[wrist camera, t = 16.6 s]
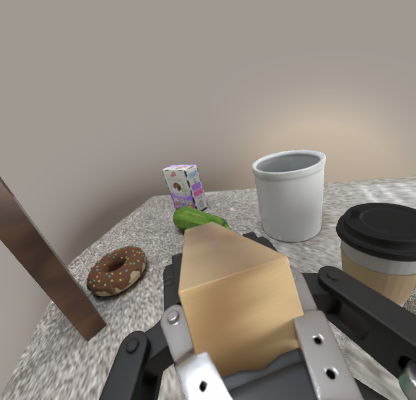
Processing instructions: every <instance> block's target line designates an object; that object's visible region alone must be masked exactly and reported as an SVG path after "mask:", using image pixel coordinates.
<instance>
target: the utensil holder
mask: <svg viewBox="0 0 416 400" xmlns="http://www.w3.org/2000/svg"><path fill="white" fill-rule="evenodd" d="M325 162H326V156H325V155H324V154H323V153H320V152H318V151H312V150H294V151H285V152H279V153H275V154H271V155H268V156H265V157H262V158H260V159H258V160H257V161H255V162H254V163H253V165H252V171H253V173H254V175H255V183H256V189H257V195H258V202H259V209H260V215H261V220H262V225H263V229H264V231H265V233H266V234H267V235H269V236H270V237H272V238H274V239H277V240H280V241H285V242H301V241H306V240H308V239H311V238H313V237H315V236H316V235H317V234H318V233H319V231H320V229H321V219H322V205H323V177H324V166H325Z"/></svg>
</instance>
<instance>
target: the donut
mask: <svg viewBox="0 0 416 400" xmlns="http://www.w3.org/2000/svg"><path fill="white" fill-rule="evenodd" d="M145 266H146V258H145V253H144V252H143V251H142V250H141V249H140V248H138V247H136V246H135V247H134V246H128V247H124V248H120V249H117V250H114V251H113V252H111V253H109V254H107V255H106V256H103V258H102V259H101V260H99V261H97V263H96V264H95V266H94V267H92V268H91V271H90V273H89V276H88V278H87V289H88V290H89V291H91V292H92V293H94V294H95V295H96V296H113V295H116V294H117V293H120V292H122V291H124V290H125V289H127V288H128V287H130V286H131V285H132V284H133V283H135V282H136V281H137V279H138V278H139V277H140V276H141V275H143V271H144V269H145Z"/></svg>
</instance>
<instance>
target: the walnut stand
mask: <svg viewBox="0 0 416 400" xmlns="http://www.w3.org/2000/svg"><path fill="white" fill-rule="evenodd" d="M0 240H1V241H2V242H3V243H4V244H5V246H6V247H7V248H8V249H9V250H10V251H11V252H12V254H13V255H14V256H15V257H16V258H17V260H18V261H19V262H20V263H21V264H22V265H23V267H24V268H25V269H26V270H27V271H28V272H29V274H30V275H31V276H32V277H33V278H34V279H35V281H36V282H37V283H38V284H39V285H40V286H41V288H42V289H43V290H44V291H45V292H46V294H47V295H48V296H49V297H50V298H51V299H52V301H53V302H54V303H55V304H56V305H57V306H58V308H59V309H60V310H61V311H62V312H63V313H64V315H65V316H66V317H67V318H68V319H69V320H70V322H71V323H72V324H73V325H74V326H75V327H76V329H77V330H78V331H79V332H80V333H81V334H82V336H83V337H84V338H85V339H86V340H87V341H89V340H90V339H91V338H92V337H93V336H94V335H95V334H96V333H98V332H99V331H100V330H101V329H102V328H103V327H104V326H105V325H106V323H105V322H104V320H103V319H102V317H101V316H100V314H99V313H98V311H97V310H96V308H95V307H94V305H93V304H92V302H91V301H90V300H89V298H88V297H87V295H86V294H85V292H84V291H83V289H82V288H81V286H80V285H79V284H78V282H77V281H76V280H75V278H74V277H73V276H72V274H71V273H70V271H69V270H68V269H67V267H66V266H65V265H64V263H63V262H62V261H61V259H60V258H59V256H58V255H57V254H56V253H55V251H54V250H53V248H52V247H51V246H50V244H49V243H48V241H47V240H46V239H45V237H44V236H43V235H42V233H41V232H40V231H39V229H38V228H37V226H36V225H35V224H34V222H33V221H32V220H31V218H30V217H29V215H28V214H27V213H26V211H25V210H24V209H23V207H22V206H21V205H20V203H19V202H18V201H17V199H16V198H15V197H14V195H13V194H12V192H11V191H10V189H9V188H8V187H7V185H6V184H5V183H4V181H3V180H2V179H1V177H0Z"/></svg>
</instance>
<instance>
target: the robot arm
mask: <svg viewBox="0 0 416 400" xmlns="http://www.w3.org/2000/svg"><path fill="white" fill-rule="evenodd" d="M243 236H244V237H247V238H249V239H251V240H253V241H255V242H257V243H259V244H262V245H264V246H266V247H268V248H270V249H272V250H275V251H277V250H276V249H275V247H274V246H273V245H272V244H271V242H270V241H269V240H268V239H266V238H264V237H257V236H256V235H255V233H254V232H249V233H246V234H243ZM277 252H278V251H277ZM182 257H183V253H180V254H177V255H174V256H172V264H171V265H168V266H166V267H165V270H164V272H163V280H164V281H163V283H164V313H163V314H162V317H161V319H160V321H159V322H158V323H157V324H156V325H155V326H153V327H152V328H151V329H149V330H148V331H146V332H145V333H144V332H143V331H134V332H132V333H130V334H129V335H128V336H127V337H126V338H125V339H124V340H123V341H122V343H121V345H120V347H119V350H118V353H117V355H116V358H115V360H114V363H113V365H112V368H111V370H110V373H109V376H108V378H107V381H106V383H105V386H104V388H103V391H102V393H101V396H100V398H99V400H157V399H158V395H159V390H160V385H161V380H162V375H163V371H164V370H166V369H167V368H168V367H169V366H170V365H172V364H173V363H174V366H175V370H176V373H177V376H178V379H179V382H180V384H181V387H182V390H183V393H184V396H185V399H186V400H388V399H387V398H385V397H384V396H382V395H380V394H379V393H377V392H376V391H374V390H373V389H371V388H370V387H368V386H366V385H365V384H363V383H362V382H360V381H359V380H357V379H355V378H354V377H353V375H352V373H351V371H350V369H349V366H348V364H347V362H346V360H345V358H344V355H343V353H342V351H341V349H340V347H339V345H338V342H337V340H336V338H335V336H334V334H333V331H332V329H331V327H330V325H329V323H328V320H329V321H330V322H331V323H332V324H334V325H335V326H336V327H337V328H338V329H340V330H341V331H342V332H343V333H344V334H345V335H347V336H348V337H349V338H350V339H351V340H353V341H354V342H355V343H356V344H357V345H358V346H360V347H361V348H362V349H363V350H364V351H365V352H367V353H368V354H369V355H370V356H371V357H373V358H374V359H375V360H376V361H377V362H378V363H380V364H381V365H382V366H383V367H384V368H385V369H387V370H388V371H389V372H390V373H391V374H393V375H394V376H395V377H396V378H397V379H398V380H399V384H400V387H401V389H402V391H403V393H404V394H405V396H406V397H407V399H408V400H416V315H414V314H413V313H411V312H409V311H408V310H406V309H404V308H403V307H401V306H400V305H398V304H396V303H395V302H393V301H391V300H390V299H388V298H386V297H385V296H383V295H381V294H380V293H378V292H376V291H375V290H373V289H372V288H370V287H368V286H367V285H365V284H363V283H362V282H360V281H358V280H357V279H355V278H353V277H352V276H350V275H348V274H347V273H345V272H343V271H342V270H340V269H338V268H336V267H332V266H325V267H322V268H321V269H320V270H319V272H318V273H301V272H300V271H298V270H297V269H294V268H291V267H290V269H291V272H292V275H293V279H294V282H295V286H296V289H297V293H298V296H299V300H300V303H301V307H302V310H303V314H304V315H302V316H299V317H296V318H293V324H294V331H295V339H296V341H297V343H298V346H299V348H296V349H293V350H291V351H288V352H286V353H283V354H281V355H279V356H278V357H277V358H276V359H274V360H273V361H272V362H271V363H270V364H269V365H268V366H266V367H265V368H264V369H262V370H246V371H238V372H235V373H233V374H230V375H228V376H225V377H223V378H221V377H220V375H219V373H218V371H217V369H216V367H215V365H214V363H213V362H212V360H211V358H210V356H209V354H208V352H207V351H205V352H202V353H200V354H198V355H195V352H194V348H193V345H192V341H191V338H190V334H189V330H188V327H187V323H186V319H185V316H184V312H183V309H182V305H181V301H180V298H179V294H178V291H179V282H180V272H181V263H182ZM327 319H328V320H327ZM205 387H206V390H205Z"/></svg>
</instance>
